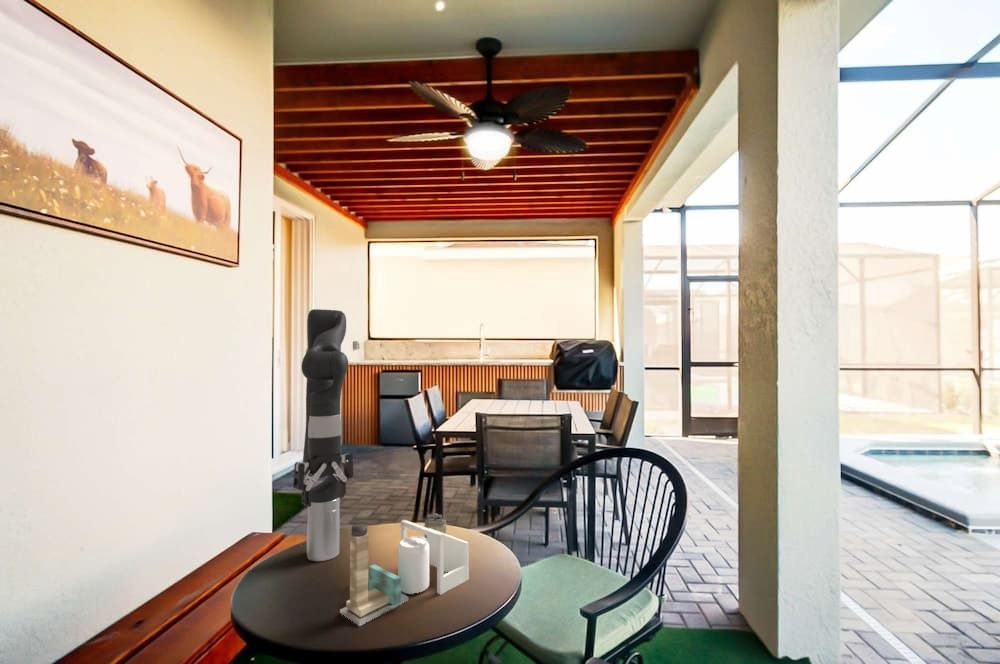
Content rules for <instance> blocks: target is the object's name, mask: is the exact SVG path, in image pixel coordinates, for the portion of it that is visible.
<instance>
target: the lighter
mask: <svg viewBox="0 0 1000 664" xmlns="http://www.w3.org/2000/svg"><path fill="white" fill-rule="evenodd" d="M431 518H433V519H431ZM438 518H439V519H438ZM423 527H426V528H431V529H434V530H436V531H439V532H442V533H445V534H447V520H446V519H443V514H438V513H433V514H431V513H430V514H429V513H428V514H427V516H426V520H425V521H424V526H423ZM423 537H424V538H426V539H427V535H425V534H423Z"/></svg>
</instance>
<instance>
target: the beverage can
mask: <svg viewBox="0 0 1000 664" xmlns="http://www.w3.org/2000/svg"><path fill="white" fill-rule="evenodd" d="M397 555H398V557H397V566H398V567H397V576H399V577H401V593H402V594H408V595H415V594H414V593H417V594H419V592H420V593H422V592H424V591H426V590H427V589H428V588H429V587H430V565H429V544H428V542H427V539H426V538H424V536H409V537H408V536H407V538H405V539H403V540H402V541H401V540H400V542H399V545H398V548H397Z"/></svg>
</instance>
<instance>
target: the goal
mask: <svg viewBox="0 0 1000 664" xmlns="http://www.w3.org/2000/svg"><path fill="white" fill-rule="evenodd" d="M408 529H409V530H413V531H415V532H418V533H420V534H423V535H424V534H425V535H427V542H428V544H429V564H431V565H433V566H432V567H434V566H435V567H434V568H436V567H437V568H436V578H437V579H436V587H437V588H436V592H437V593H438V594H437V595H439V594H440V595H439V596H441V595H443V594H445V593H446V592H449V591H450V590H452V589H454V588H456V587H458V586H460V585H461V584H463V583H465V582H467V581H468V580H469V579H470V575H469V574H470V572H469V571H470V570H469V567H470V566H469V565H470V563H469V562H470V561H469V560H470V559H469V552H470V551H469V550H470V549H469V547H470V546H469V545H470V544H469V541H466V540H463V539H461V538H458V537H455V536H452V535H450V534H447V533H446V534H445V533H442V532H439V531H436V530H434V529H431V528H426V527H424V526H423V525H421V524H417V523H415V522H413V521H412V522H411V521H410V520H406V519H403V520H400V542H401V541H402V540H403V539H405V538H408ZM431 565H430V566H431ZM447 572H448V573H447Z"/></svg>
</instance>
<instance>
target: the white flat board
mask: <svg viewBox="0 0 1000 664" xmlns="http://www.w3.org/2000/svg"><path fill="white" fill-rule="evenodd" d="M406 601H407V602H409V596H407V595H406V594H405V593H403V592H401V604H399V605H400V606H402V605H403V604H405V603H407V602H406ZM404 602H405V603H404ZM402 603H403V604H402ZM399 605H397V606H398V607H400V606H399ZM397 606H395V605H393V604H391V603H388V604H386V605H384V606H382V607H380V608H378V609H376V610H374V611H372V612H370V613H368V614H366V615H364V616H362V617H360V616H358V615H357V614H355V613H354V612H352V611H350V610H349V609H347V608H346V606H345V607H343V608H340V609H339V614H340V613H341V614H342V615H341V614H340V615H341V616H343V615H344V616H345V617H344V616H343V617H344V618H346V617H347V618H348V619H347V618H346V619H347V620H349V619H350V620H351V621H350V620H349V621H350V622H352V621H353V622H354V623H353V622H352V623H353V624H355V623H356V624H357V626H358V627H362V626H363V625H365V624H367V623H369V622H371V621H373V620H374V618H375V619H376V618H378V617H380V616H382V615H384V614H386V613H388V612H390V611H392V610H394V609H396V608H397ZM395 607H396V608H395ZM393 608H394V609H393ZM391 609H392V610H391ZM389 610H390V611H389ZM387 611H388V612H387ZM385 612H386V613H385ZM383 613H384V614H383ZM381 614H382V615H381ZM372 619H373V620H372ZM366 622H367V623H366ZM356 624H355V625H356Z"/></svg>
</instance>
